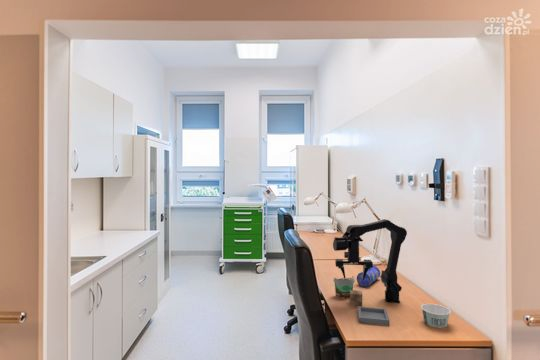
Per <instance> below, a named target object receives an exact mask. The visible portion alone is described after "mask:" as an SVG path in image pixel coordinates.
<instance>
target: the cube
mask: <svg viewBox="0 0 540 360" xmlns="http://www.w3.org/2000/svg"><path fill="white" fill-rule="evenodd" d="M349 306H351V307H352V306H353V307H358V306H361V307H363V291H362V290H355V289H353V290H350V298H349Z"/></svg>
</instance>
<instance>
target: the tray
mask: <svg viewBox="0 0 540 360" xmlns="http://www.w3.org/2000/svg"><path fill="white" fill-rule="evenodd" d="M357 316H358V317H357V318H358V323H359V324H369V325H378V326H390V318H389V314H388V311H387V309H386V308H382V307H381V308H380V307H372V306H371V307H370V306H357Z"/></svg>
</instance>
